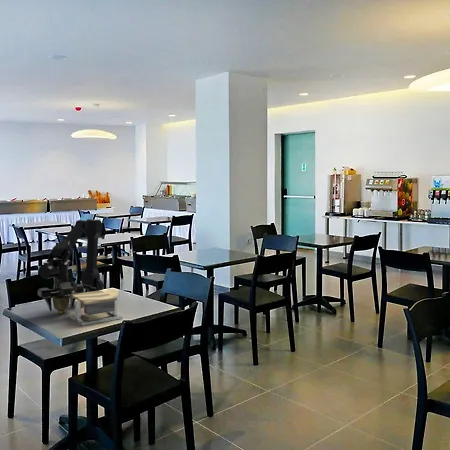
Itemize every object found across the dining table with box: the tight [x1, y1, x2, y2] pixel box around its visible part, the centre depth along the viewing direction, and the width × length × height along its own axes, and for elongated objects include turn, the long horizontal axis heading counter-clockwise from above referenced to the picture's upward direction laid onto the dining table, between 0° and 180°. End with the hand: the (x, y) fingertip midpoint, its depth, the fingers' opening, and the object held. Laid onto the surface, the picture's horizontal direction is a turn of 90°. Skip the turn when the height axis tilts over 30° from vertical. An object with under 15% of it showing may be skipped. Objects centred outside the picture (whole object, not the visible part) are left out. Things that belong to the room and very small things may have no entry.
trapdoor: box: [71, 290, 118, 316], centre depth 220 cm, size 16×14×6 cm
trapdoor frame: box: [70, 295, 124, 326], centre depth 217 cm, size 13×18×8 cm
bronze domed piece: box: [51, 293, 70, 315], centre depth 223 cm, size 8×7×8 cm
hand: (61, 309), depth 223 cm, fingers open, 9 cm apart
